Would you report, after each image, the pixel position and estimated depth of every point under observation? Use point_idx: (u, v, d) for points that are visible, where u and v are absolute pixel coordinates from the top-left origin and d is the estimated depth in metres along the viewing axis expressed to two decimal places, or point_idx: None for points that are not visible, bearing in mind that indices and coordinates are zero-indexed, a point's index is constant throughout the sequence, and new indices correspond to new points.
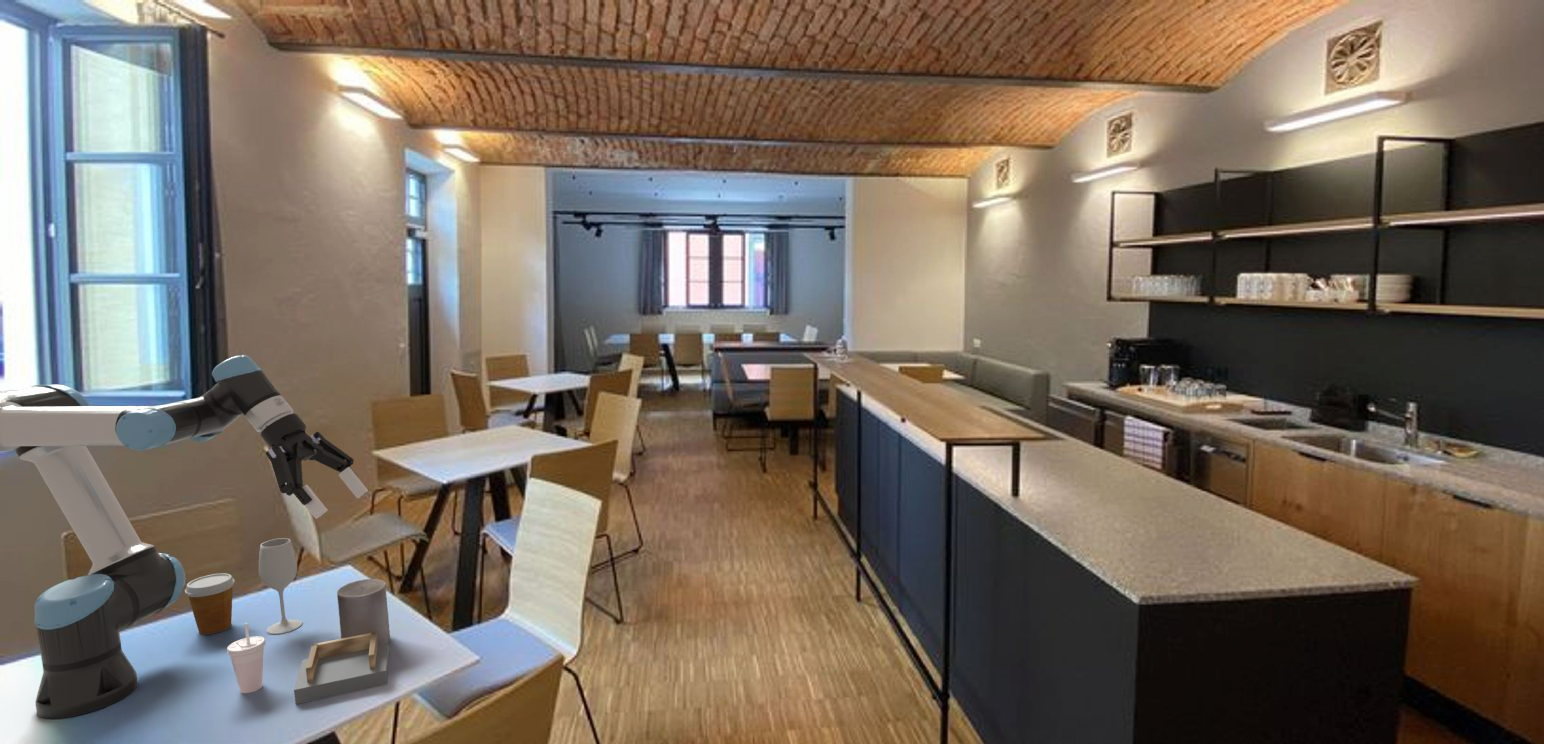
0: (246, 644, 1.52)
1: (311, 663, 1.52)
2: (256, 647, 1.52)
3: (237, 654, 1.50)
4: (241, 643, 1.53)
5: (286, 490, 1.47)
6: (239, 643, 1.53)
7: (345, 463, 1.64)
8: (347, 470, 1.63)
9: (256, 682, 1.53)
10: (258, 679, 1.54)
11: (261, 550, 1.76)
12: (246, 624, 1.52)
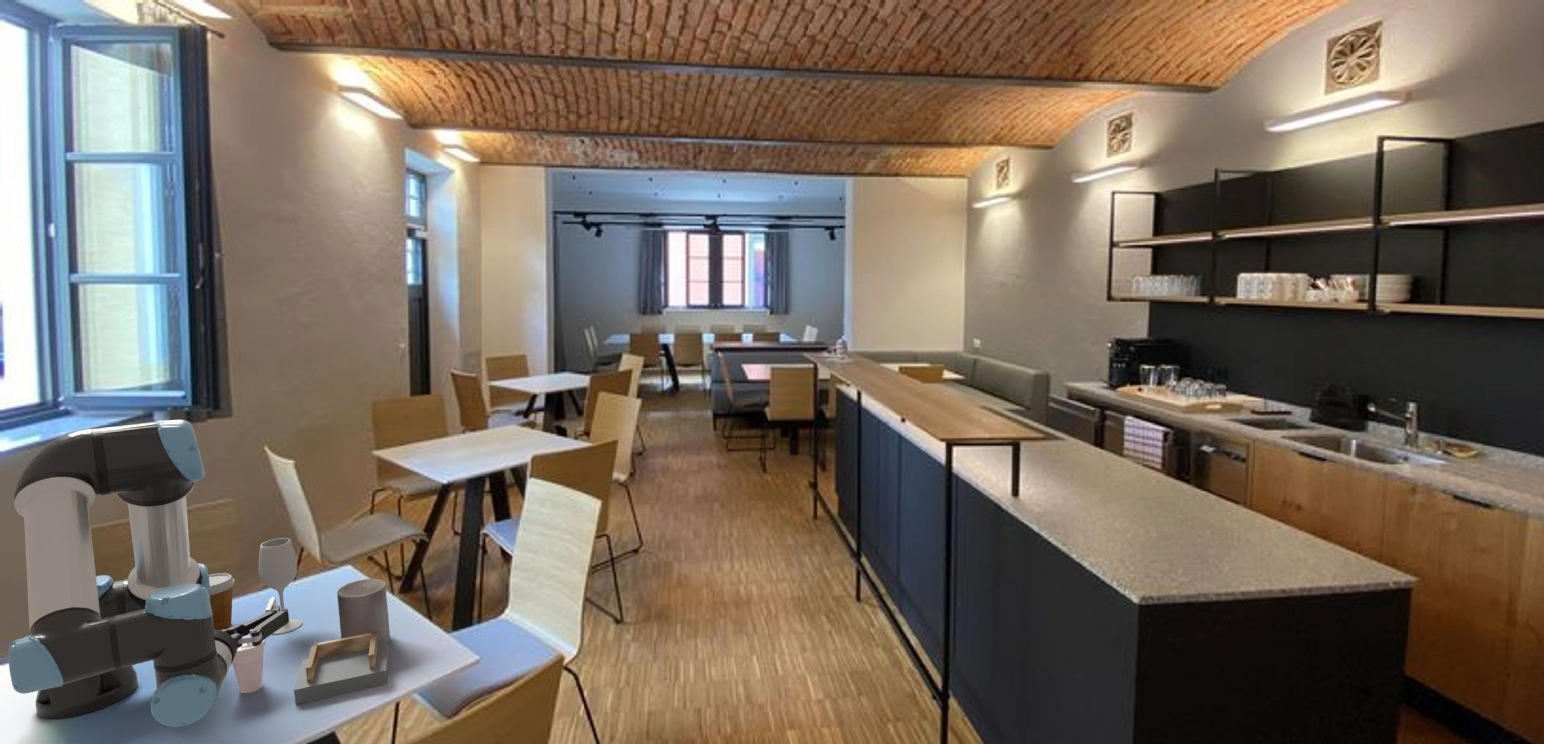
0: (246, 644, 1.52)
1: (311, 663, 1.52)
2: (256, 647, 1.52)
3: (237, 654, 1.50)
4: None
5: None
6: None
7: None
8: None
9: (256, 682, 1.53)
10: (258, 679, 1.54)
11: (261, 550, 1.76)
12: None
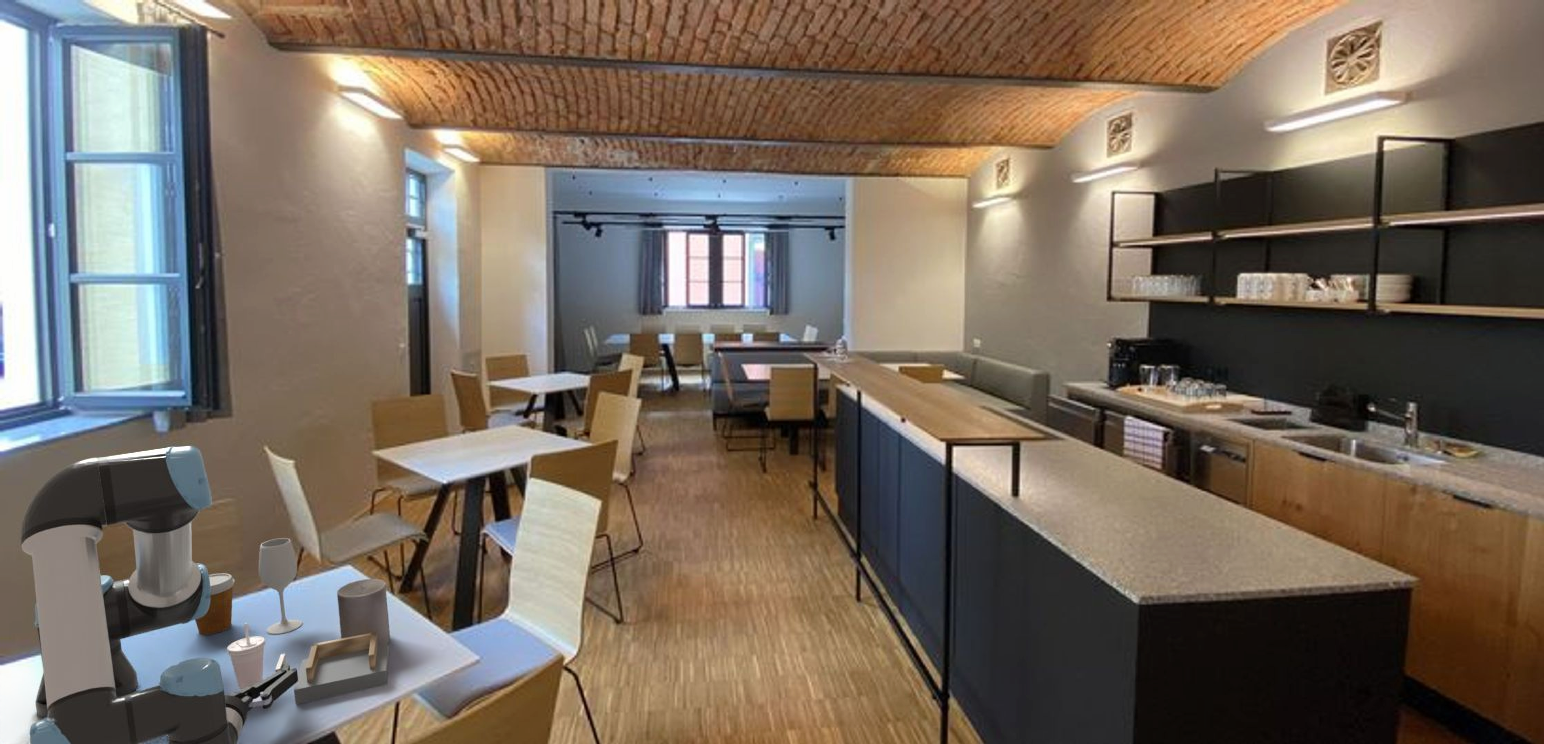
0: (246, 644, 1.52)
1: (311, 663, 1.52)
2: (256, 647, 1.52)
3: (237, 654, 1.50)
4: (241, 643, 1.53)
5: None
6: (239, 643, 1.53)
7: None
8: None
9: (256, 682, 1.53)
10: (258, 679, 1.54)
11: (261, 550, 1.76)
12: (246, 624, 1.52)
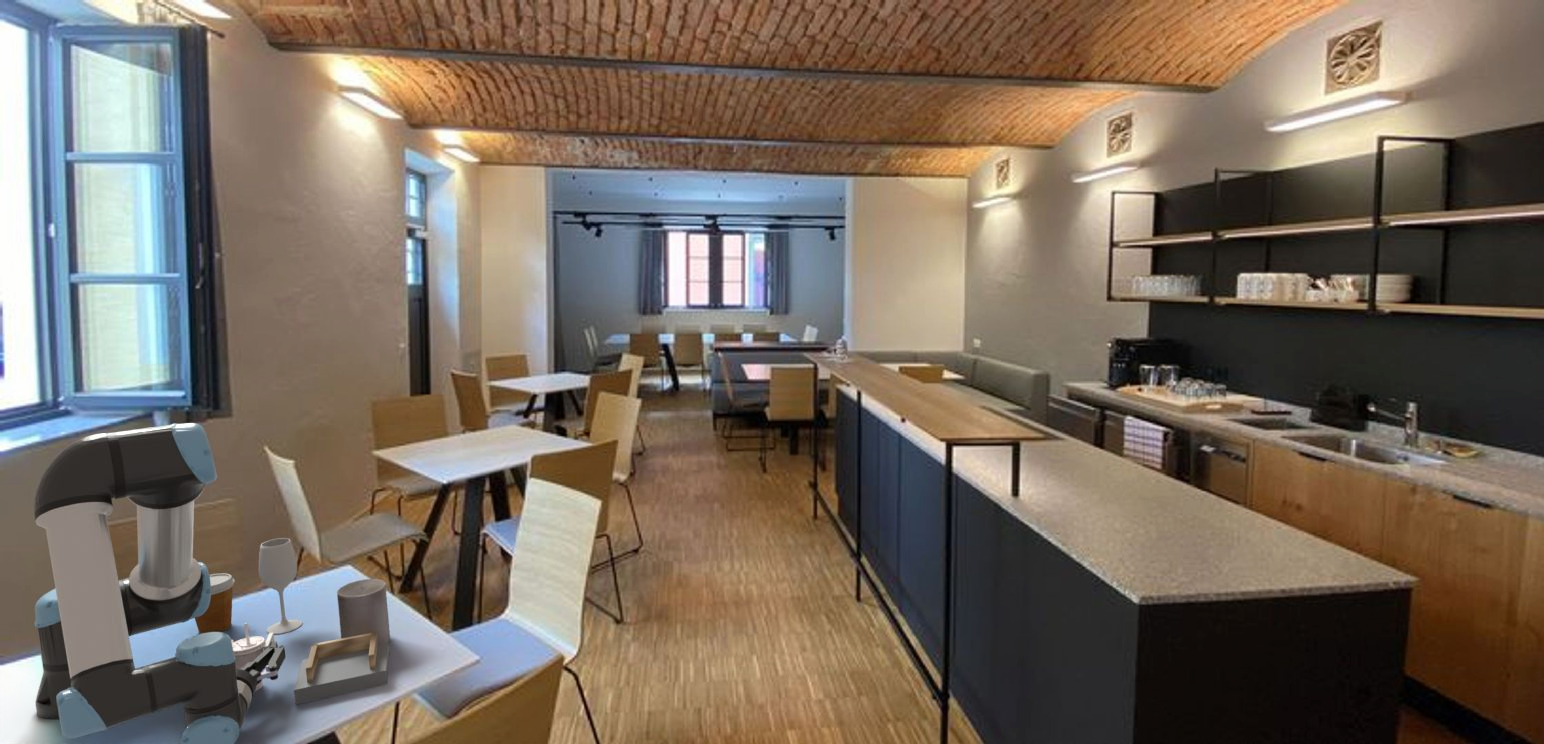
0: (246, 644, 1.52)
1: (311, 663, 1.52)
2: (256, 647, 1.52)
3: (237, 654, 1.50)
4: (241, 643, 1.53)
5: None
6: (239, 643, 1.53)
7: None
8: None
9: None
10: None
11: (261, 550, 1.76)
12: (246, 624, 1.52)
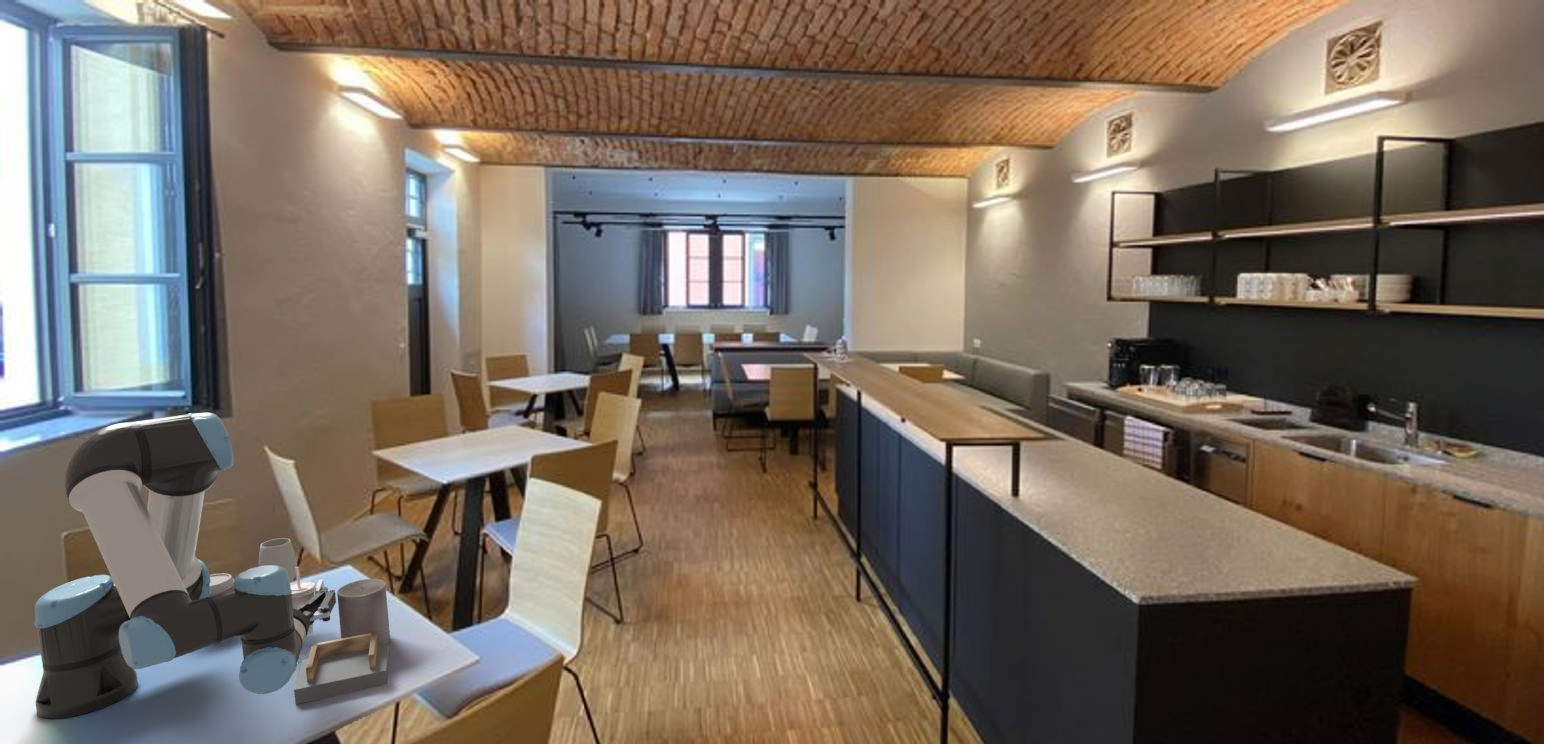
0: (297, 588, 1.52)
1: (311, 663, 1.52)
2: (307, 591, 1.51)
3: None
4: (292, 587, 1.52)
5: None
6: None
7: None
8: None
9: None
10: None
11: (261, 550, 1.76)
12: (297, 568, 1.52)
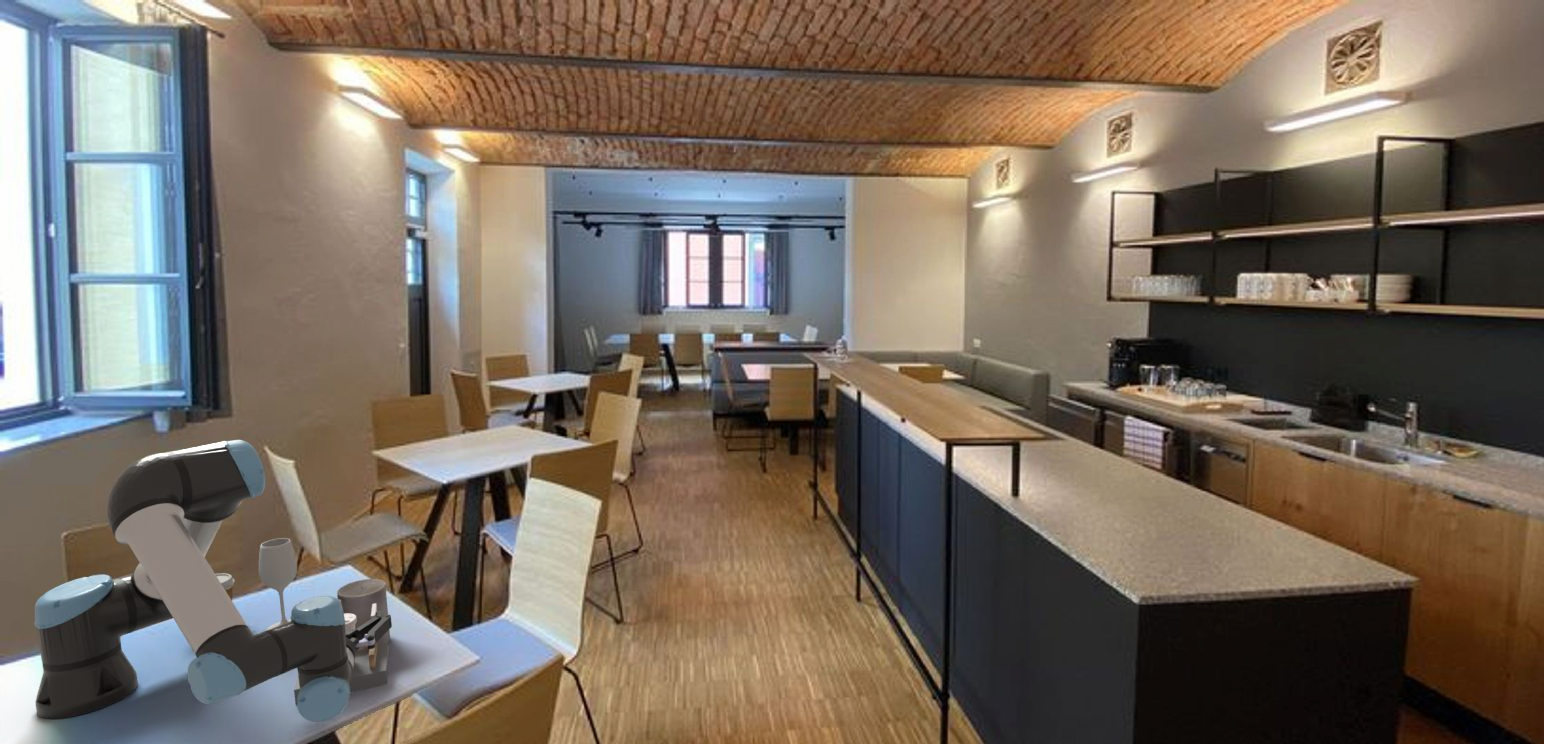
0: None
1: None
2: (349, 623, 1.55)
3: None
4: None
5: None
6: None
7: None
8: None
9: None
10: None
11: (261, 550, 1.76)
12: None
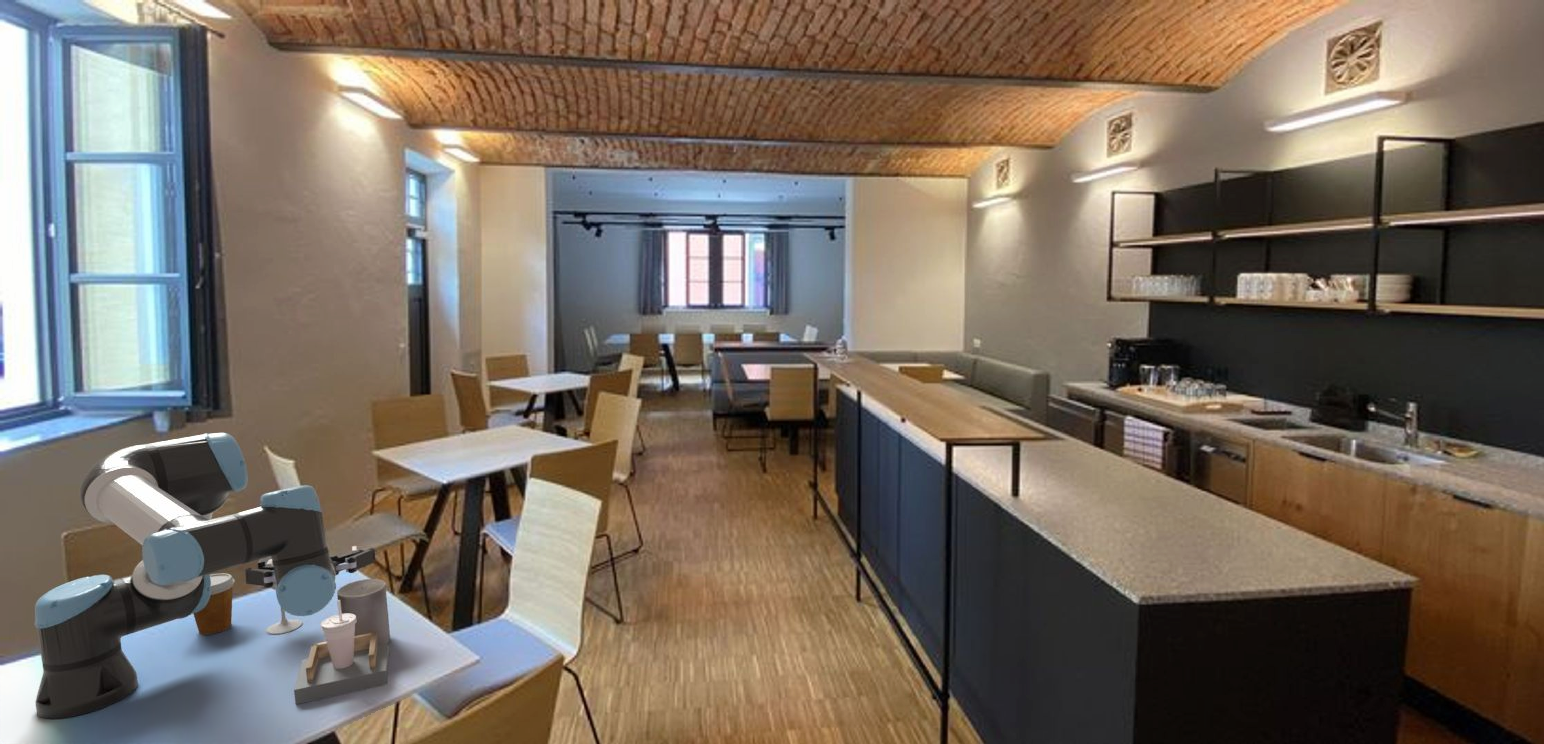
0: (339, 621, 1.55)
1: (311, 663, 1.52)
2: (349, 624, 1.55)
3: (332, 631, 1.53)
4: (334, 620, 1.56)
5: None
6: (332, 620, 1.56)
7: None
8: None
9: (349, 658, 1.56)
10: (351, 655, 1.57)
11: None
12: (339, 601, 1.55)
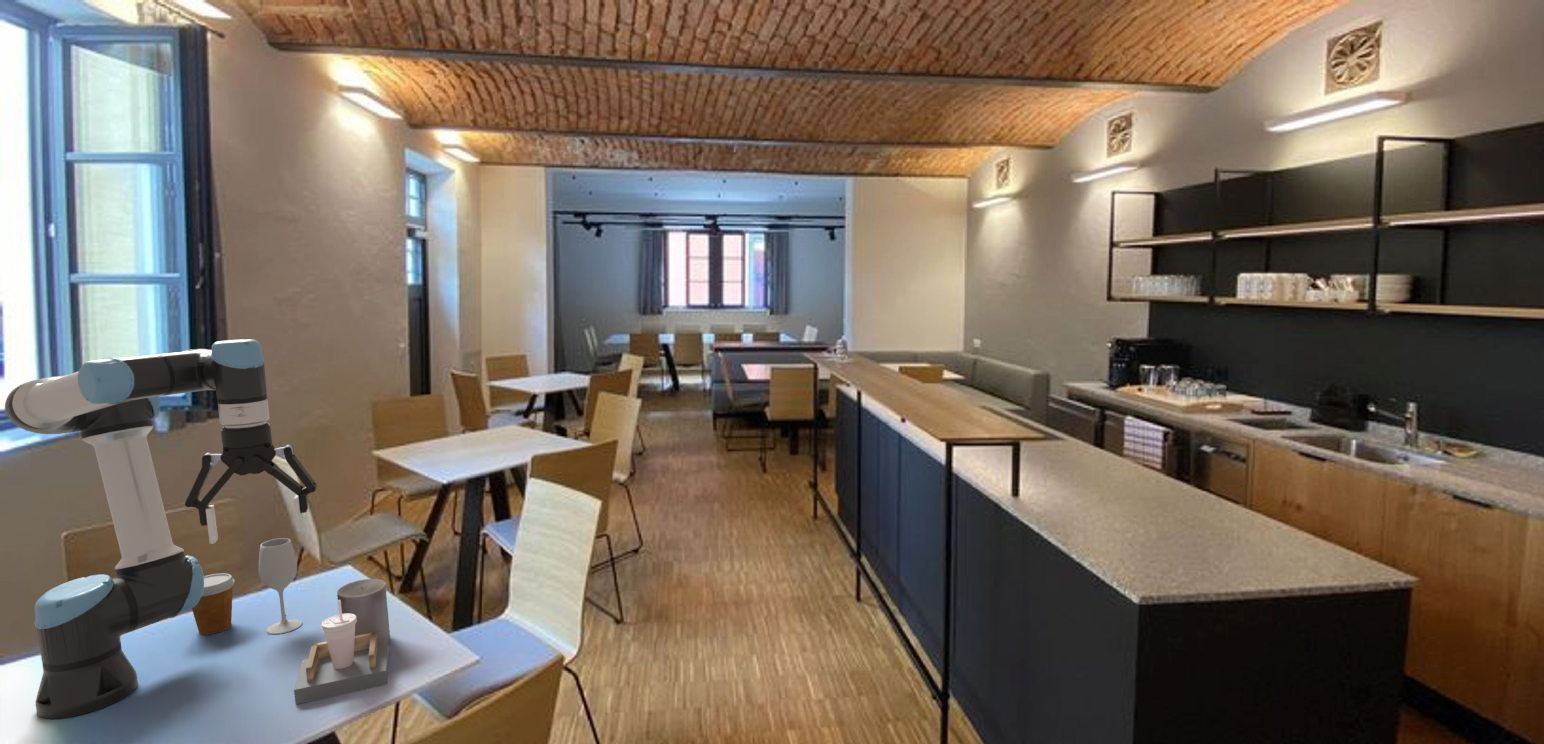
0: (339, 621, 1.55)
1: (311, 663, 1.52)
2: (349, 624, 1.55)
3: (332, 630, 1.53)
4: (334, 620, 1.56)
5: None
6: (332, 620, 1.56)
7: (297, 492, 1.43)
8: (294, 500, 1.43)
9: (349, 658, 1.56)
10: (351, 655, 1.57)
11: (261, 550, 1.76)
12: (339, 601, 1.55)
